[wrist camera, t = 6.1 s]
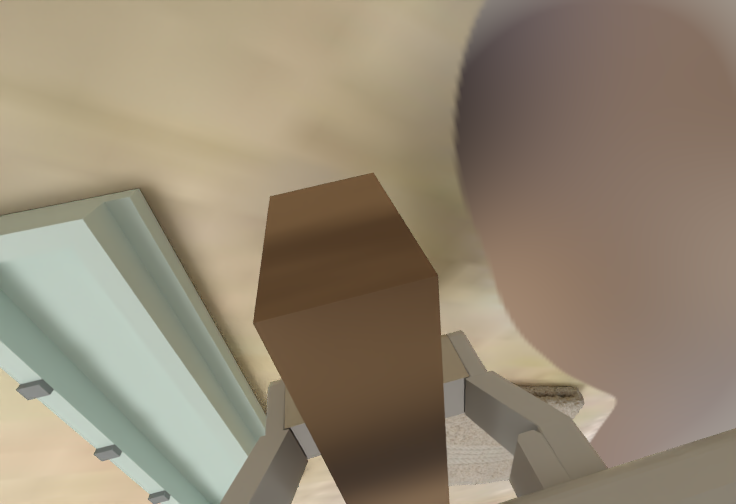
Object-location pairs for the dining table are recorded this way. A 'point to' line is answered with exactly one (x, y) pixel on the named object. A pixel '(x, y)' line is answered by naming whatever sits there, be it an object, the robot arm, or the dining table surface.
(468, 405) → the robot arm
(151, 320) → the ledge
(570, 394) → the washcloth
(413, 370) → the wooden block
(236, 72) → the dining table surface
